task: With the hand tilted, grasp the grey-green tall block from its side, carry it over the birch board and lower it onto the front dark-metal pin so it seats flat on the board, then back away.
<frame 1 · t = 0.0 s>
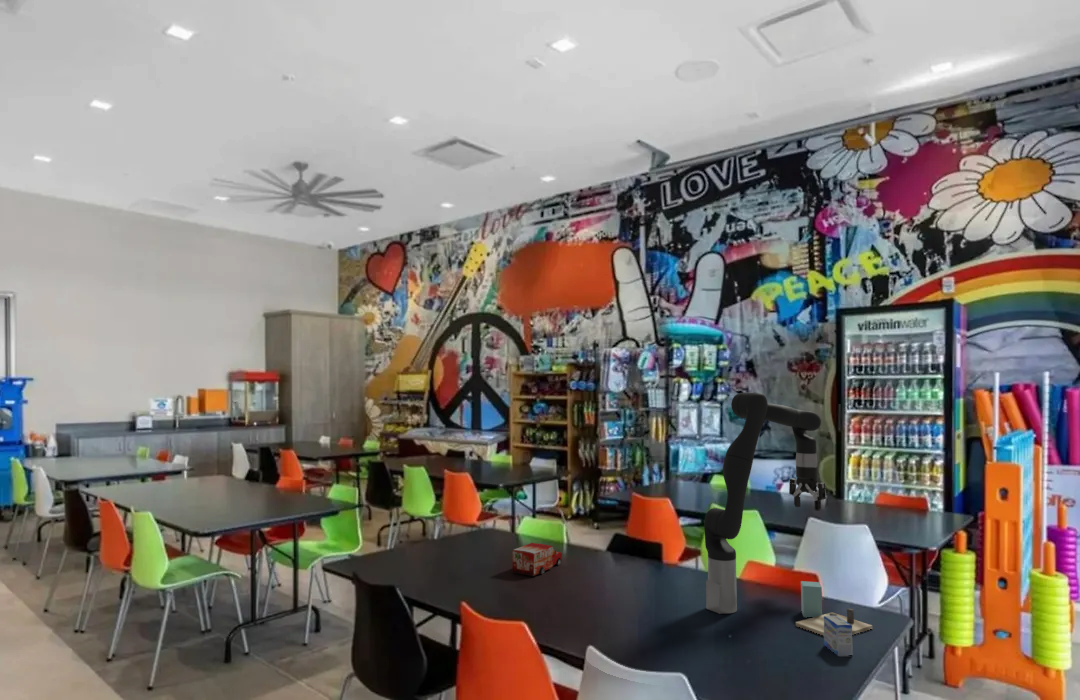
hand: (807, 508, 249), 29 cm above the table, tool pointing down, fingers open, 8 cm apart
medicine box: (838, 651, 189), on the table
grey-green tall block: (811, 615, 219), on the table
pin board: (833, 627, 207), on the table
ambulance: (538, 570, 273), on the table
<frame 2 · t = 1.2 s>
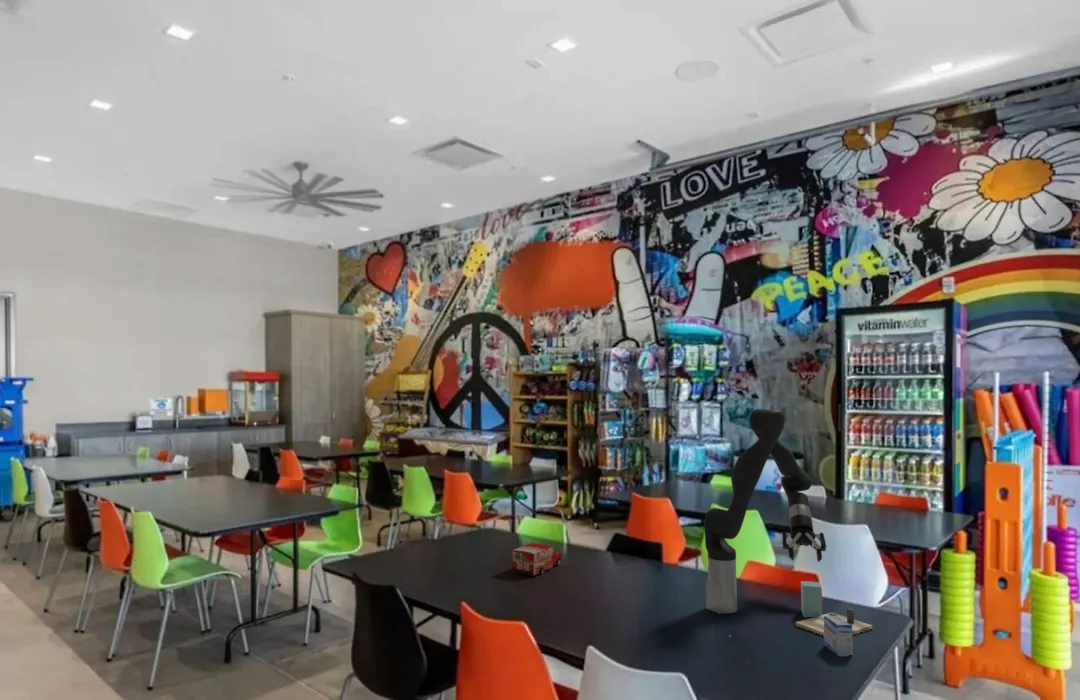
hand: (805, 559, 231), 15 cm above the table, tool tilted 45°, fingers open, 8 cm apart
nothing on the table moved.
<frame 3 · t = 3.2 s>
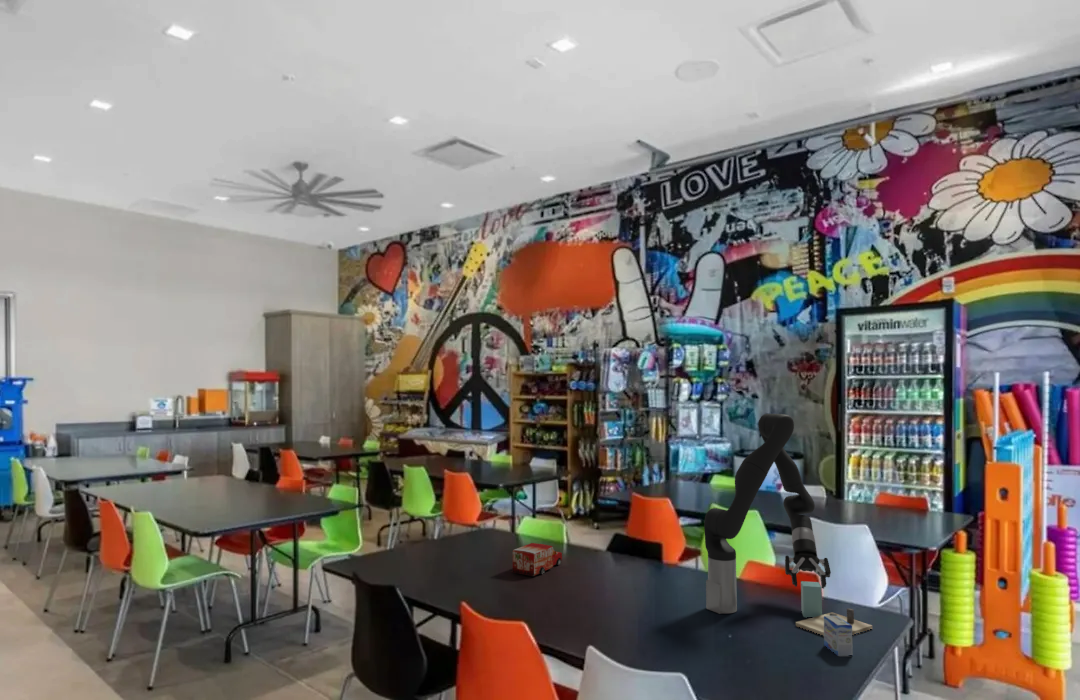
hand: (809, 586, 222), 8 cm above the table, tool tilted 45°, fingers open, 8 cm apart
nothing on the table moved.
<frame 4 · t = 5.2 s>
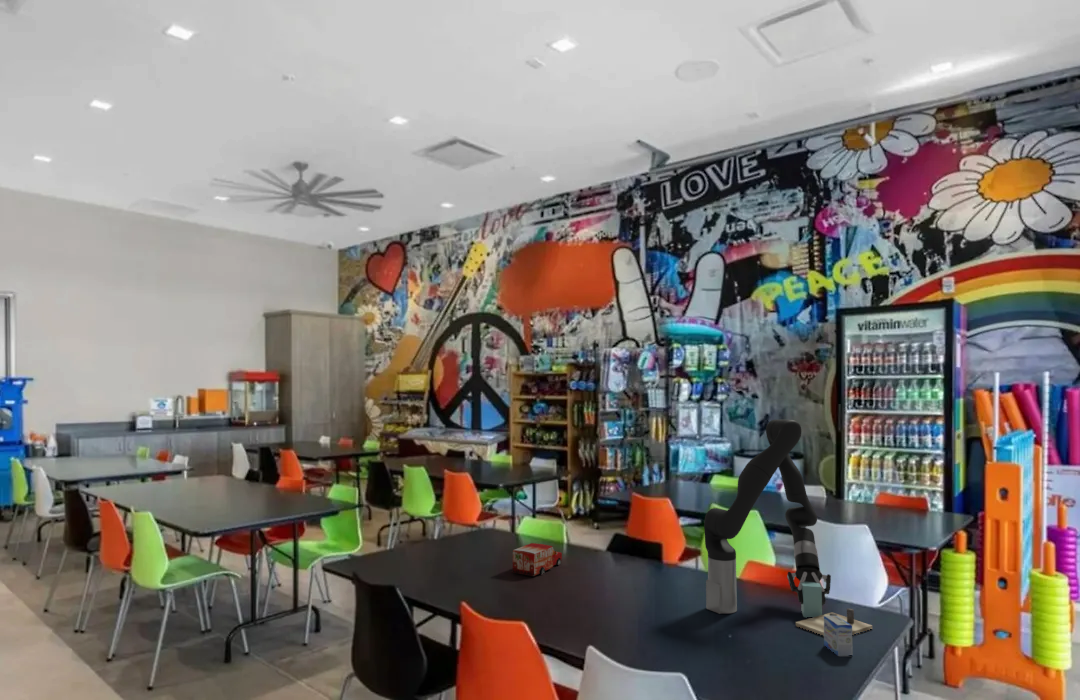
hand: (812, 603, 217), 4 cm above the table, tool tilted 45°, fingers closed on grey-green tall block, 5 cm apart
grey-green tall block: (811, 615, 219), on the table, touching gripper
everything else where it was.
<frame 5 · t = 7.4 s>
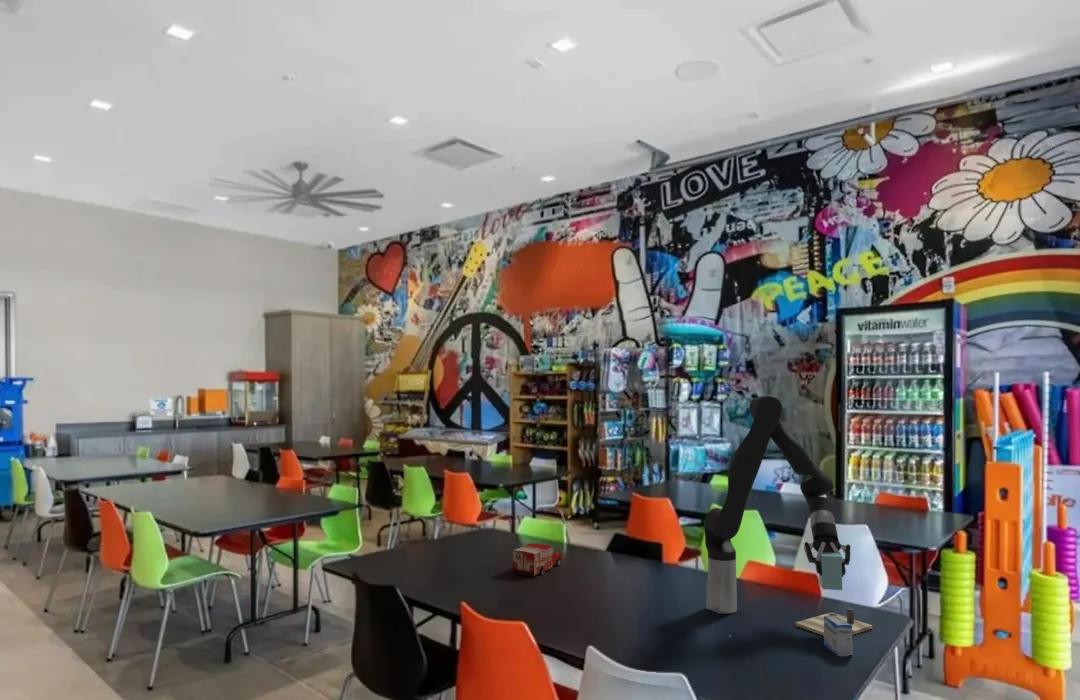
hand: (831, 574, 205), 17 cm above the table, tool tilted 45°, fingers closed on grey-green tall block, 5 cm apart
grey-green tall block: (830, 586, 207), point 13 cm above the table, touching gripper
everything else where it was.
when the fingers open (7 cm above the table, at t = 10.0 s): grey-green tall block drops 1 cm, resting on pin board.
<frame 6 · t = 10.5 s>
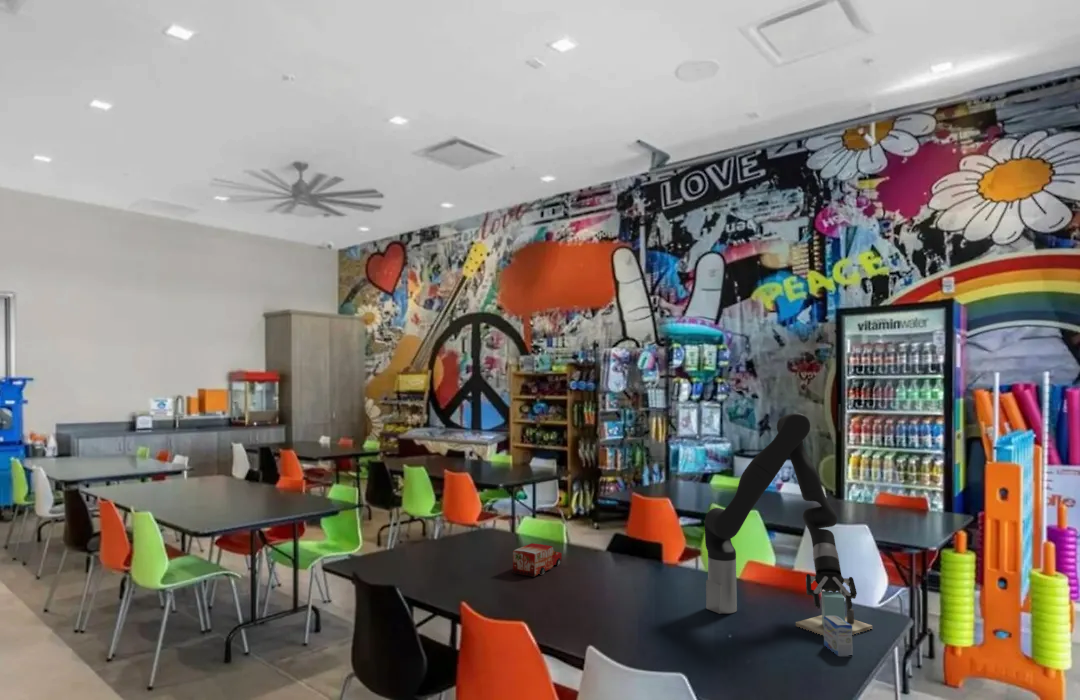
hand: (833, 608, 203), 7 cm above the table, tool tilted 45°, fingers open, 8 cm apart
grey-green tall block: (833, 627, 204), point 1 cm above the table, touching pin board
everything else where it was.
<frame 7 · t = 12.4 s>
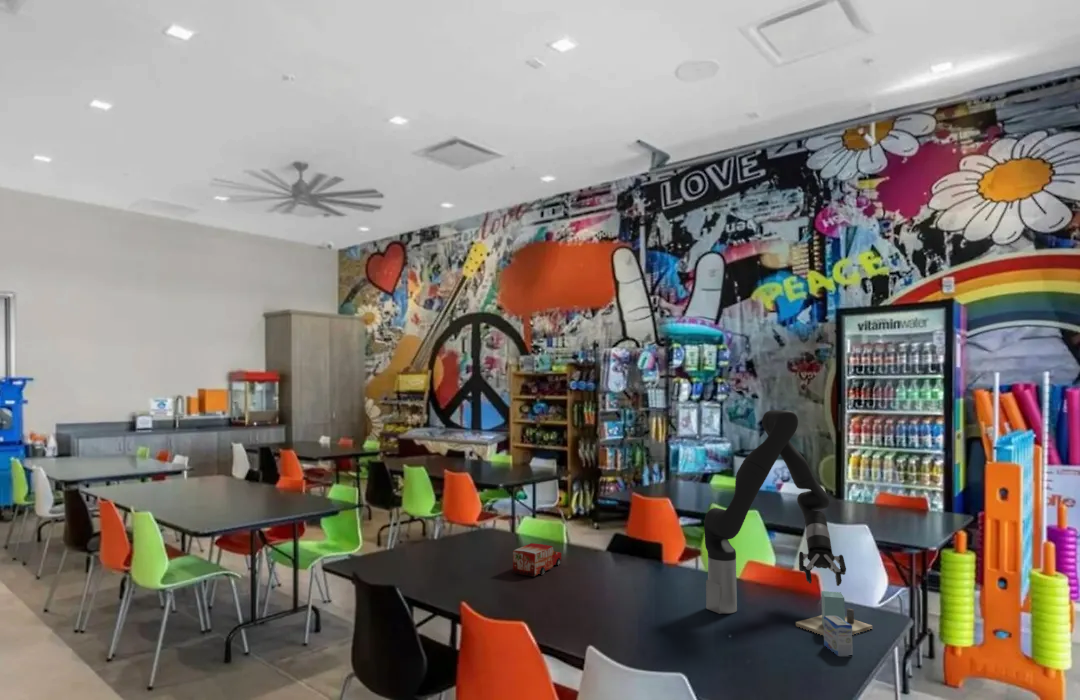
hand: (824, 583, 217), 11 cm above the table, tool tilted 45°, fingers open, 8 cm apart
nothing on the table moved.
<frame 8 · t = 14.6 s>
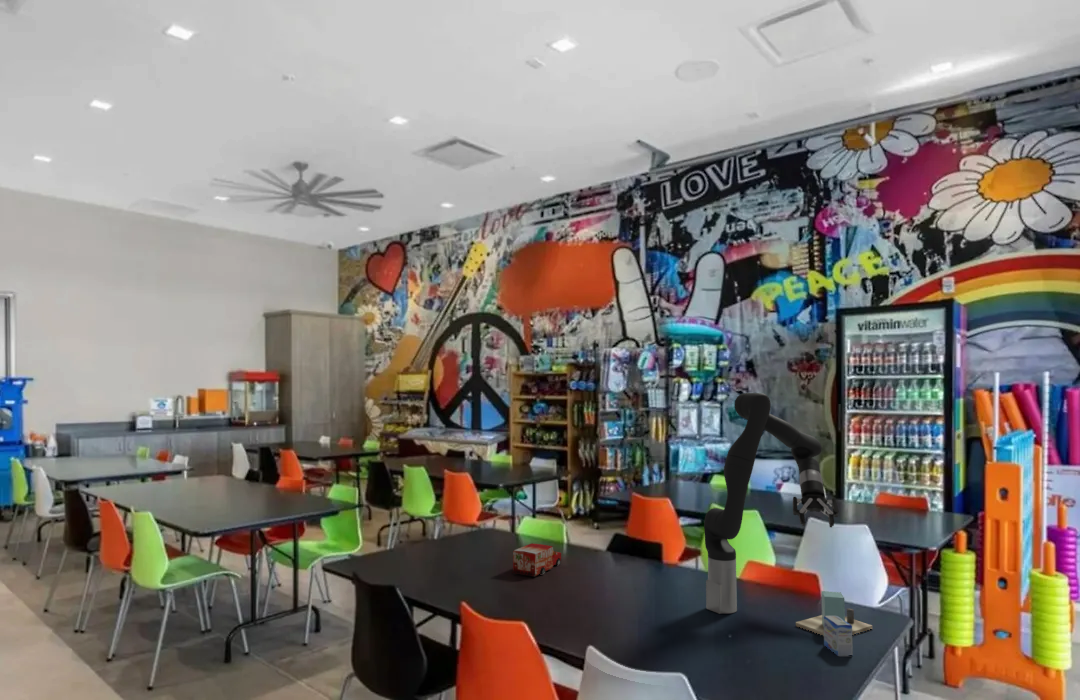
hand: (817, 525, 222), 29 cm above the table, tool tilted 45°, fingers open, 8 cm apart
nothing on the table moved.
at the end: grey-green tall block 0.1 cm from the target spot on the pin board, point 1.2 cm above the pin board's base; grey-green tall block tilted 0°; the gripper is holding nothing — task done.
